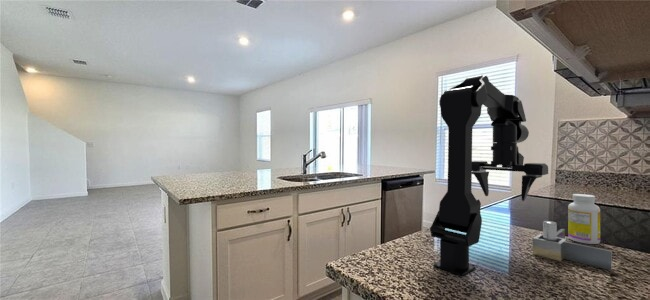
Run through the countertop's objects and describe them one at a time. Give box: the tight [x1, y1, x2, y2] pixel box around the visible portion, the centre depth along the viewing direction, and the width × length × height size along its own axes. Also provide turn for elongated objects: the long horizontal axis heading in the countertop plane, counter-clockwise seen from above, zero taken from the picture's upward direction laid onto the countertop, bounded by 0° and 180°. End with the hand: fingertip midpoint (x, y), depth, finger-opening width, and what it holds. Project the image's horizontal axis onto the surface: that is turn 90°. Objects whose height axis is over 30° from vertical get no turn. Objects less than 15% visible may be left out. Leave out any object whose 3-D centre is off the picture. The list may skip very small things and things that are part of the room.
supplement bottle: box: [567, 193, 601, 245], centre depth 79 cm, size 7×7×13 cm
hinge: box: [532, 228, 613, 271], centre depth 69 cm, size 15×13×4 cm
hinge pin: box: [542, 220, 558, 242], centre depth 69 cm, size 3×3×8 cm
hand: (504, 198), depth 79 cm, fingers open, 9 cm apart
